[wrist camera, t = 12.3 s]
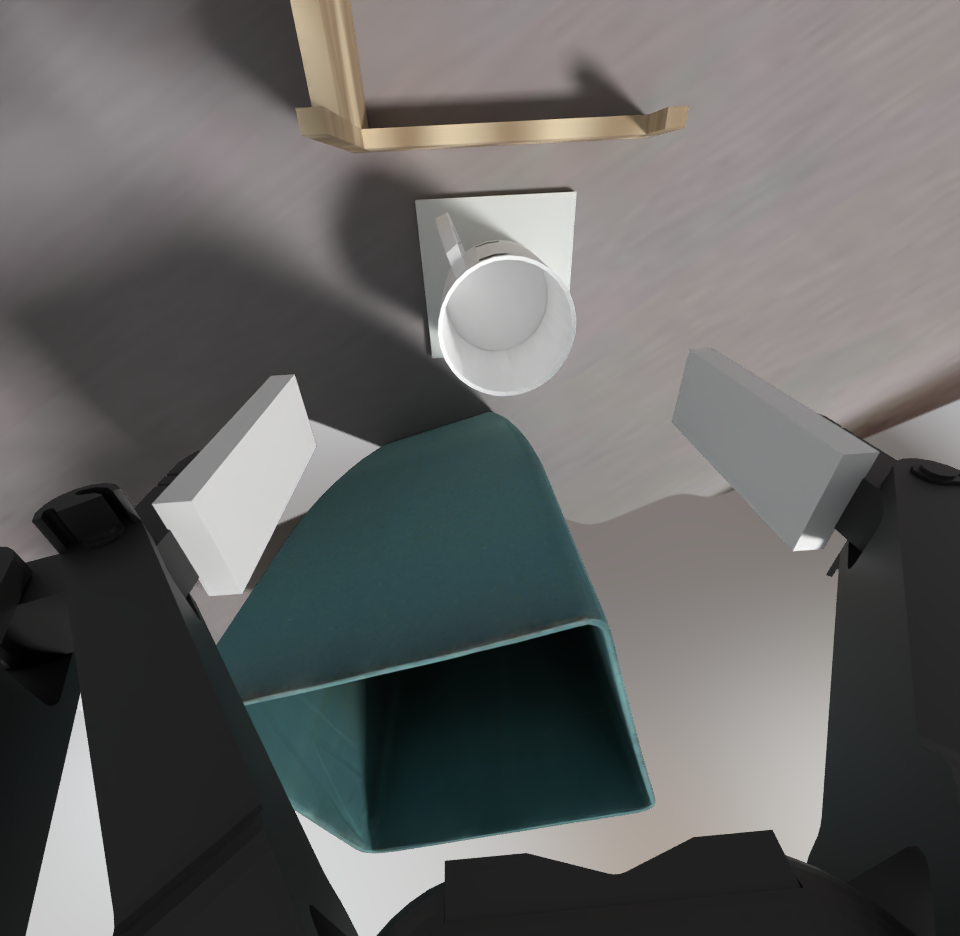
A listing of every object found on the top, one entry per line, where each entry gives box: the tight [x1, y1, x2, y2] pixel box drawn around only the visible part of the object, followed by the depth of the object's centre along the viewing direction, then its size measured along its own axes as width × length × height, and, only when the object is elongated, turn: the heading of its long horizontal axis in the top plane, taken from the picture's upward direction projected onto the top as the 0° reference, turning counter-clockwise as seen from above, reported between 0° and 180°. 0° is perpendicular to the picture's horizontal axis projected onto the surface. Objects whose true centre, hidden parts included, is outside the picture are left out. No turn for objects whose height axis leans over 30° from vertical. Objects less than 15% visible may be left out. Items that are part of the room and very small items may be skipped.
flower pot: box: [216, 412, 655, 853], centre depth 34 cm, size 20×20×28 cm
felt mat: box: [415, 192, 576, 358], centre depth 35 cm, size 12×12×1 cm
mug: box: [436, 213, 576, 396], centre depth 31 cm, size 12×9×9 cm
